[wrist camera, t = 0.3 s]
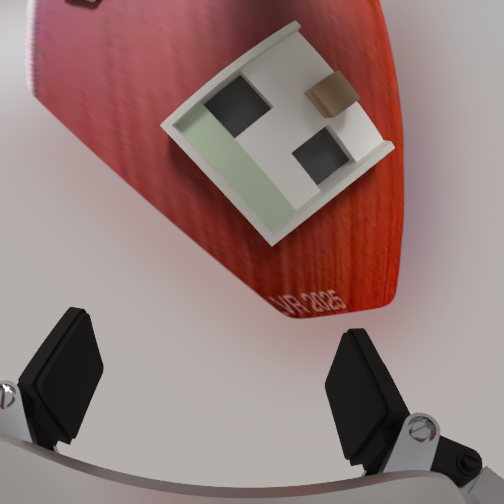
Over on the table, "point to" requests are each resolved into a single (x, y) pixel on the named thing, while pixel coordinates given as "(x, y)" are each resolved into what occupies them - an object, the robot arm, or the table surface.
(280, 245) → the table surface
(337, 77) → the walnut block
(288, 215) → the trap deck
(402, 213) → the table surface
